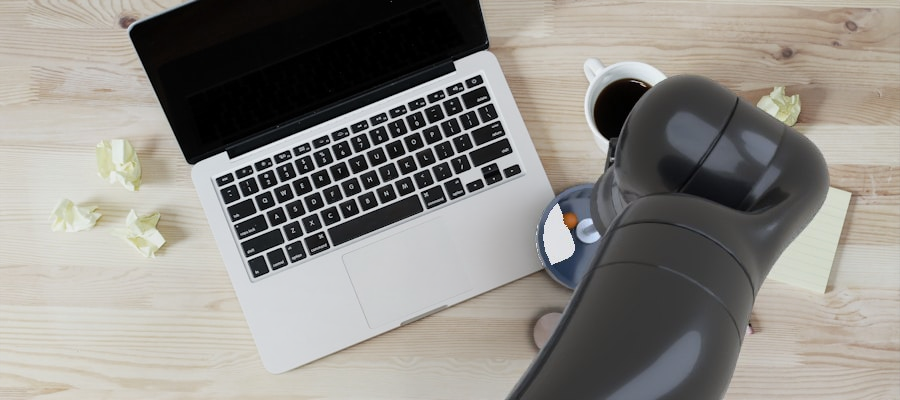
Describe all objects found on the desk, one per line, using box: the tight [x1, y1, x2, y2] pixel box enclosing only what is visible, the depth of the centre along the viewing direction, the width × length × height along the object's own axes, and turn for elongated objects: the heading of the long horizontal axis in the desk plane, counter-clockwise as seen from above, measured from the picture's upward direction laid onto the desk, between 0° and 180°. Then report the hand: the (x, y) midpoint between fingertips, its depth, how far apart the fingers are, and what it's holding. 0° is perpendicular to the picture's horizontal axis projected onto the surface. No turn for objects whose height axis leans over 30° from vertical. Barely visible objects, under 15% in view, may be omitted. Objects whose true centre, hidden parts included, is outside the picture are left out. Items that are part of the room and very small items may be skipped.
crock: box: [533, 312, 562, 350], centre depth 77 cm, size 5×5×20 cm
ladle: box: [575, 218, 601, 244], centre depth 77 cm, size 3×3×20 cm
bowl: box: [536, 183, 602, 291], centre depth 86 cm, size 12×12×5 cm
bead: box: [563, 212, 578, 229], centre depth 87 cm, size 2×2×2 cm
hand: (609, 220), depth 72 cm, fingers closed on ladle, 1 cm apart
